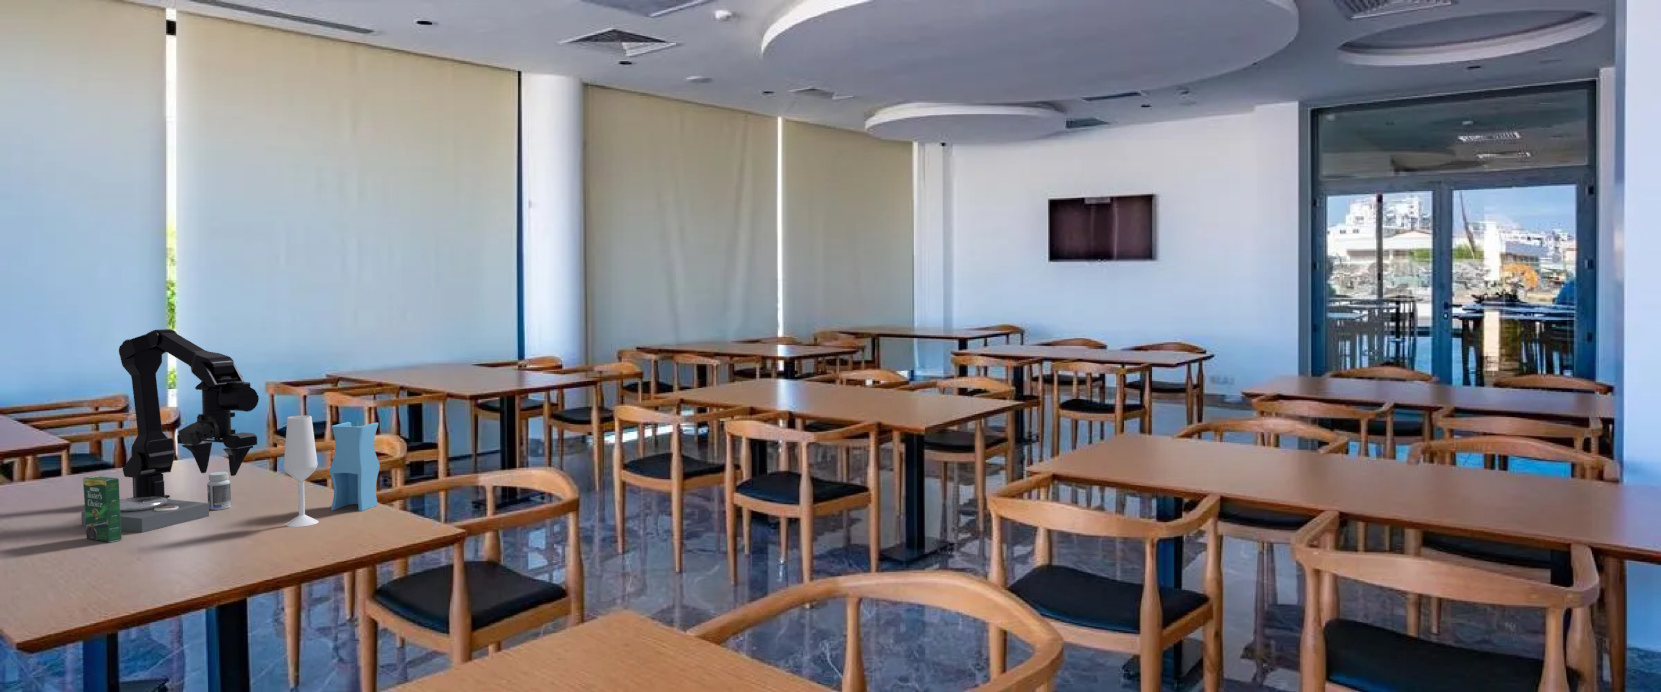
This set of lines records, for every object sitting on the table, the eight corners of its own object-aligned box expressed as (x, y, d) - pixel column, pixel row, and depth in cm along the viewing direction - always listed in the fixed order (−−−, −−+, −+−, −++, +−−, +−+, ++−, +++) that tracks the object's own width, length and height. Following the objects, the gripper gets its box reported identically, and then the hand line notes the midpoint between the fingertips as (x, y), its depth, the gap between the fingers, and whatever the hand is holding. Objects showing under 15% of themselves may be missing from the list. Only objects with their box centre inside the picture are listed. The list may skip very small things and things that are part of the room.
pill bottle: (235, 506, 240) (234, 471, 239) (221, 510, 235) (220, 475, 235) (217, 505, 240) (216, 470, 240) (203, 509, 236) (202, 474, 235)
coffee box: (84, 538, 209) (81, 476, 208) (98, 535, 212) (96, 474, 211) (107, 543, 206) (105, 480, 205) (122, 539, 208) (120, 477, 207)
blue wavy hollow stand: (380, 503, 244) (378, 422, 243) (362, 511, 236) (360, 427, 235) (349, 502, 245) (348, 421, 243) (330, 509, 237) (328, 426, 236)
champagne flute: (307, 518, 229) (305, 414, 227) (325, 522, 225) (322, 416, 224) (278, 524, 223) (276, 417, 221) (296, 528, 219) (293, 419, 218)
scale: (81, 525, 220) (81, 509, 220) (151, 509, 235) (150, 494, 235) (142, 532, 214) (141, 515, 214) (209, 515, 230) (208, 500, 229)
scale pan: (96, 509, 222) (95, 504, 222) (143, 499, 232) (143, 495, 232) (132, 513, 218) (132, 508, 218) (179, 502, 229) (179, 498, 229)
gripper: (154, 411, 232) (156, 477, 233) (216, 415, 226) (218, 483, 227) (198, 405, 242) (200, 469, 243) (258, 409, 236) (259, 474, 237)
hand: (218, 474), depth 237 cm, fingers open, 9 cm apart
